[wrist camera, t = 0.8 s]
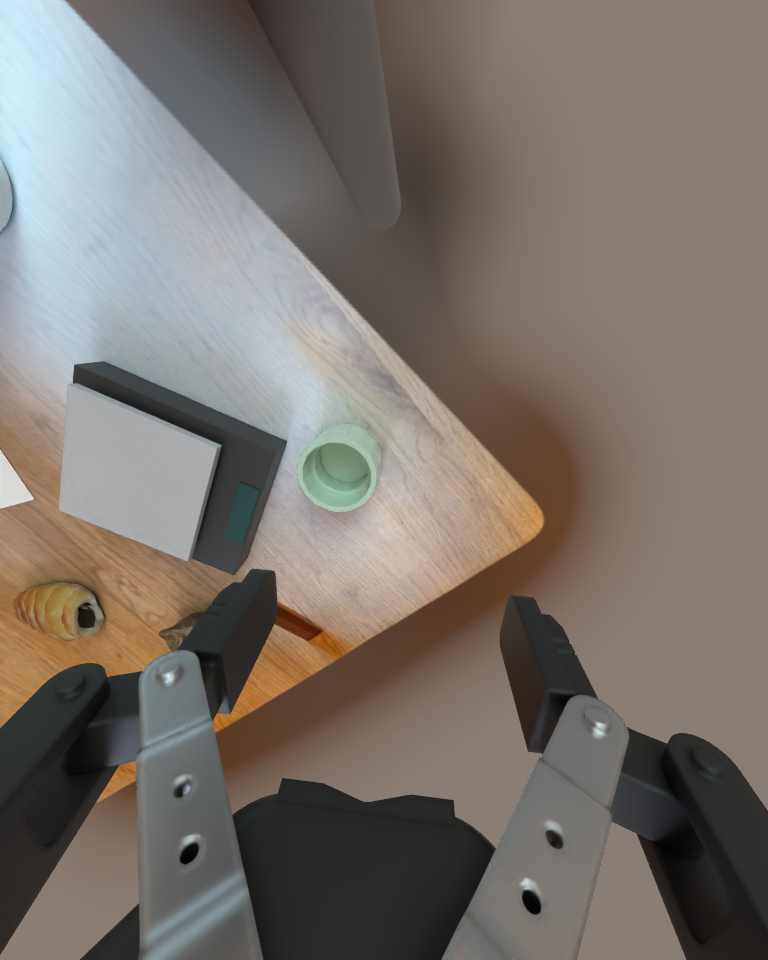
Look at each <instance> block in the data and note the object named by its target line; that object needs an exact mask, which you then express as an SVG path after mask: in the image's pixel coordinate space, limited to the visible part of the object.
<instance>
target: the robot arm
mask: <svg viewBox="0 0 768 960" xmlns="http://www.w3.org/2000/svg"><path fill="white" fill-rule="evenodd" d="M277 607H278V606H277V589H276V575H275V572H274V571H271V570H261V569H251V570H250V571H249V573H248V574H247V575H246V577H245V578H244V580H243V581H242V583H238V582H233V583H232V584H231V585H229V586H228V587H226V588H225V589H223V590H222V591H221V592H220V593H219V594H218V596H217V597H216V598H215V600H214V601H213V602H212V605H210V606H209V607H208V609H207V610H206V611H205V614H204V615H202V617H201V618H200V619H199V621H198V622H197V623H196V625H195V626H194V627H193V629H192V630H191V631H190V633H189V634H188V635H187V637H186V638H185V639H184V641H183V642H182V643H181V645H180V646H179V647H178V649H177V650H176V651H172V652H168V653H166V654H163V655H161V656H159V657H157V658H156V659H154V660H153V661H152V662H150V663H149V664H148V665H147V666H146V667H145V668H144V670H143V671H140V672H135V673H129V674H123V675H116V676H110V677H107V675H106V672H105V669H104V668H103V667H102V666H101V665H99V664H94V663H86V664H80V665H76V666H73V667H70V668H68V669H66V670H64V671H62V672H60V673H58V674H57V675H55V676H53V677H52V678H51V679H49V680H48V681H47V682H46V683H45V684H44V685H43V686H42V687H41V688H40V689H39V690H38V691H37V692H36V693H35V694H34V695H33V696H32V697H31V698H30V699H29V700H28V701H27V702H26V703H25V704H24V705H23V706H22V707H21V708H20V709H19V710H18V711H17V712H16V713H15V714H14V715H13V716H12V717H11V718H10V719H9V720H8V721H7V722H6V723H5V724H4V725H3V726H2V727H1V728H0V954H1V953H2V951H3V950H4V948H5V946H6V945H7V943H8V941H9V940H10V938H11V937H12V935H13V934H14V932H15V930H16V929H17V927H18V926H19V924H20V922H21V921H22V919H23V918H24V916H25V914H26V913H27V911H28V910H29V908H30V907H31V905H32V903H33V902H34V900H35V898H36V897H37V895H38V894H39V892H40V891H41V889H42V887H43V886H44V884H45V883H46V881H47V879H48V878H49V876H50V874H51V873H52V871H53V870H54V868H55V867H56V865H57V863H58V862H59V860H60V859H61V857H62V856H63V854H64V852H65V851H66V849H67V848H68V846H69V844H70V843H71V841H72V840H73V838H74V836H75V835H76V833H77V831H78V830H79V828H80V827H81V825H82V824H83V822H84V821H85V819H86V817H87V816H88V814H89V813H90V811H91V809H92V808H93V806H94V805H95V803H96V801H97V800H98V798H99V797H100V795H101V793H102V792H103V790H104V789H105V787H106V786H107V784H108V782H109V781H110V779H111V778H112V776H113V774H114V773H115V771H116V770H117V768H118V766H119V765H120V764H125V763H129V762H134V761H136V783H137V827H138V874H139V875H138V876H139V904H138V905H137V906H136V907H135V908H134V909H132V910H131V911H130V912H129V913H128V914H127V915H126V916H125V917H124V918H123V919H122V920H121V921H120V922H119V923H118V924H117V925H116V926H115V927H114V928H113V929H112V930H110V931H109V932H108V933H107V934H106V935H105V936H104V937H103V938H102V939H101V940H100V941H99V942H98V943H97V944H96V945H95V946H94V947H93V948H92V949H91V950H89V951H88V952H87V953H86V954H85V955H84V956H83V957H82V958H81V959H80V960H577V956H578V952H579V948H580V944H581V941H582V937H583V933H584V929H585V925H586V921H587V917H588V913H589V909H590V905H591V901H592V897H593V893H594V889H595V886H596V882H597V877H598V873H599V870H600V866H601V862H602V858H603V854H604V850H605V846H606V842H607V838H608V834H609V830H610V827H611V822H614V823H616V824H618V825H620V826H622V827H624V828H626V829H628V830H631V831H633V832H635V833H637V836H638V838H639V841H640V843H641V845H642V848H643V850H644V853H645V856H646V858H647V861H648V863H649V866H650V869H651V871H652V874H653V876H654V879H655V881H656V884H657V886H658V889H659V891H660V894H661V896H662V899H663V902H664V904H665V907H666V909H667V912H668V914H669V917H670V919H671V922H672V924H673V927H674V929H675V932H676V934H677V937H678V940H679V942H680V945H681V947H682V950H683V952H684V955H685V957H686V960H768V811H767V809H766V808H765V806H764V805H763V803H762V802H761V801H760V799H759V798H758V796H757V795H756V793H755V792H754V791H753V789H752V787H751V786H750V785H749V783H748V782H747V780H746V779H745V777H744V776H743V774H742V773H741V771H740V770H739V769H738V767H737V766H736V765H735V764H734V763H733V761H731V759H730V758H729V757H728V756H727V755H725V754H724V753H723V752H722V751H721V750H719V749H718V748H717V747H715V746H714V745H712V744H711V743H709V742H707V741H705V740H704V739H701V738H699V737H697V736H694V735H691V734H686V733H678V734H675V735H673V736H672V737H671V738H670V740H669V742H668V743H664V742H661V741H659V740H656V739H654V738H651V737H649V736H646V735H644V734H641V733H638V732H636V731H634V730H632V729H630V728H628V727H627V726H626V724H625V723H624V721H623V719H622V718H621V717H620V716H619V714H618V713H617V712H615V710H614V709H612V708H611V707H610V706H608V705H607V704H606V703H604V702H602V701H601V700H599V699H598V698H597V696H596V694H595V692H594V690H593V688H592V686H591V684H590V682H589V680H588V678H587V676H586V674H585V672H584V670H583V668H582V666H581V664H580V662H579V660H578V657H577V656H576V655H575V651H574V649H573V648H572V645H571V644H569V640H568V637H567V635H566V634H565V632H564V630H563V627H562V626H561V625H560V624H558V622H557V621H555V619H554V618H553V617H552V616H551V615H545V614H541V612H540V610H539V607H538V605H537V603H536V601H535V599H534V598H533V597H525V596H515V595H510V596H509V597H508V599H507V604H506V608H505V612H504V616H503V622H502V626H501V630H500V648H501V652H502V656H503V660H504V664H505V667H506V670H507V675H508V679H509V682H510V686H511V690H512V693H513V697H514V701H515V705H516V708H517V712H518V716H519V719H520V723H521V727H522V731H523V734H524V738H525V742H526V745H527V749H528V752H536V753H542V757H541V758H539V760H538V761H537V763H536V765H535V768H534V770H533V772H532V774H531V776H530V778H529V780H528V783H527V784H526V787H525V789H524V791H523V793H522V795H521V797H520V799H519V801H518V803H517V806H516V808H515V810H514V812H513V814H512V816H511V818H510V820H509V823H508V825H507V827H506V829H505V831H504V833H503V835H502V837H501V839H500V841H499V843H498V846H497V848H495V847H494V846H493V845H492V844H491V843H490V842H489V841H488V840H487V839H486V838H485V837H484V836H483V835H482V834H481V833H479V831H477V830H476V829H475V828H473V827H472V826H470V825H469V824H467V823H466V822H464V821H463V820H461V819H459V818H456V817H455V813H454V800H448V799H440V798H432V797H425V796H417V795H406V796H401V797H395V798H390V799H384V800H379V801H373V802H363V801H360V800H358V799H356V798H354V797H352V796H350V795H347V794H345V793H343V792H341V791H339V790H337V789H335V788H332V787H330V786H328V785H326V784H324V783H316V782H309V781H301V780H294V779H286V778H282V781H281V785H280V788H279V791H278V794H273V795H269V796H266V797H263V798H260V799H258V800H256V801H254V802H252V803H250V804H248V805H246V806H245V807H243V808H242V809H240V810H238V811H237V812H236V813H234V814H233V815H232V812H231V807H230V803H229V798H228V793H227V789H226V784H225V779H224V774H223V769H222V765H221V760H220V755H219V751H218V747H217V741H216V737H215V732H214V727H213V722H212V721H213V720H214V718H215V716H216V714H217V713H225V714H231V712H232V710H233V708H234V705H235V703H236V701H237V699H238V697H239V695H240V693H241V691H242V689H243V687H244V685H245V683H246V681H247V679H248V677H249V675H250V673H251V671H252V669H253V666H254V664H255V662H256V660H257V658H258V656H259V654H260V652H261V650H262V648H263V646H264V644H265V642H266V640H267V638H268V636H269V634H270V632H271V629H272V627H273V625H274V623H275V620H276V616H277Z"/></svg>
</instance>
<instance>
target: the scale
mask: <svg viewBox="0 0 768 960" xmlns="http://www.w3.org/2000/svg"><path fill="white" fill-rule="evenodd" d="M286 443H287V441H285V440H282V439H280V438H278V437H276V436H273V435H271V434H269V433H266V432H264V431H262V430H259V429H257V428H255V427H253V426H250V425H248V424H246V423H243V422H241V421H239V420H237V419H234V418H232V417H230V416H227V415H225V414H223V413H221V412H218V411H216V410H214V409H211V408H209V407H207V406H205V405H202V404H200V403H198V402H195V401H193V400H191V399H189V398H186V397H184V396H182V395H179V394H177V393H175V392H173V391H170V390H168V389H166V388H163V387H161V386H159V385H156V384H154V383H152V382H150V381H147V380H145V379H143V378H140V377H138V376H136V375H134V374H131V373H129V372H127V371H124V370H122V369H120V368H118V367H115V366H113V365H111V364H108V363H106V362H94V363H85V364H76V365H74V376H73V384H69V385H68V392H67V406H66V419H65V433H64V446H63V459H62V473H61V486H60V500H59V511H62V512H64V513H67V514H69V515H72V516H74V517H77V518H79V519H82V520H84V521H87V522H89V523H92V524H94V525H97V526H99V527H102V528H104V529H107V530H109V531H112V532H114V533H117V534H119V535H122V536H125V537H127V538H130V539H132V540H135V541H137V542H140V543H142V544H145V545H147V546H150V547H152V548H155V549H157V550H160V551H162V552H165V553H167V554H170V555H172V556H175V557H177V558H180V559H182V560H185V561H187V562H188V561H189V560H190V559H191V558H192V559H195V560H197V561H200V562H202V563H205V564H207V565H210V566H212V567H215V568H217V569H220V570H222V571H225V572H227V573H230V574H232V575H235V574H236V572H237V571H238V570H239V568H240V567H241V566H242V564H243V563H244V562H245V560H246V559H247V557H248V555H249V552H250V549H251V546H252V543H253V540H254V537H255V534H256V531H257V528H258V525H259V522H260V519H261V516H262V514H263V511H264V508H265V505H266V502H267V499H268V496H269V493H270V490H271V487H272V484H273V481H274V478H275V475H276V472H277V470H278V467H279V464H280V461H281V458H282V455H283V452H284V449H285V446H286Z"/></svg>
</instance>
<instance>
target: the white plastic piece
mask: <svg viewBox="0 0 768 960" xmlns="http://www.w3.org/2000/svg"><path fill="white" fill-rule="evenodd" d="M31 500H35V499H34V498H33V496H32V495H31V494H30V492H29V491H28V489H27V488H26V486H25V485H24V483H23V482H22V480H21V479H20V477H19V476H18V475H17V473H16V472H15V470H14V469H13V467H12V466H11V464H10V463H9V461H8V460H7V458H6V457H5V456H4V454H3V453H2V451H1V450H0V509H1V508H5V507H9V506H12V505H16V504H20V503H23V502H27V501H31Z"/></svg>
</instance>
